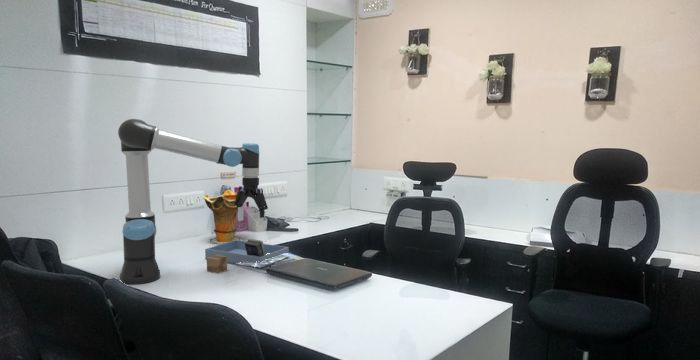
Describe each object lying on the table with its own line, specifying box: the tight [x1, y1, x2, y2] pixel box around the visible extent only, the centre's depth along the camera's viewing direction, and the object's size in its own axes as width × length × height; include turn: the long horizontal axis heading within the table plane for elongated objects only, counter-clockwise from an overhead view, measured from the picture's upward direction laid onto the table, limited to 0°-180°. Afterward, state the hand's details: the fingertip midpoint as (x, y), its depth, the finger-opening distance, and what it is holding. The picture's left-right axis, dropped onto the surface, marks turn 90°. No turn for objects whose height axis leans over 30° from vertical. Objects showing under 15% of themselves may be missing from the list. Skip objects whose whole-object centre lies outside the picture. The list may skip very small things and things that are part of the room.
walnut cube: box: [206, 255, 228, 274], centre depth 210 cm, size 6×6×6 cm
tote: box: [204, 240, 290, 265], centre depth 230 cm, size 22×32×5 cm
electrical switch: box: [245, 238, 266, 257], centre depth 227 cm, size 9×5×9 cm, turn 57°
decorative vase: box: [202, 189, 243, 245], centre depth 265 cm, size 21×23×28 cm
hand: (250, 222), depth 224 cm, fingers open, 13 cm apart
